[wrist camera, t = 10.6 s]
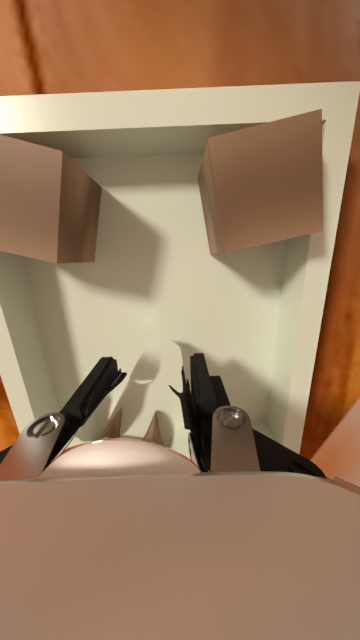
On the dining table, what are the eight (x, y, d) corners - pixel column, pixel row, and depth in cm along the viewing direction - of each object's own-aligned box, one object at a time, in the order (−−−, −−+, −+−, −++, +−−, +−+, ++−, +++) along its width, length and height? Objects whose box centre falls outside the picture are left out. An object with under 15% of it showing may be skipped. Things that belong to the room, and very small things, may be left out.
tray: (-22, 141, 11) (-91, 100, 8) (313, 126, 11) (361, 81, 8) (57, 436, 17) (32, 472, 14) (277, 427, 17) (297, 462, 14)
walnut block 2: (197, 178, 11) (208, 137, 7) (271, 160, 11) (321, 108, 7) (210, 254, 12) (224, 253, 8) (277, 239, 12) (323, 230, 8)
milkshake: (110, 388, 13) (-62, 716, 4) (133, 314, 12) (-59, 556, 2) (176, 408, 14) (165, 745, 4) (206, 339, 12) (291, 627, 3)
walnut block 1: (26, 168, 11) (-56, 119, 7) (101, 187, 11) (62, 151, 7) (25, 246, 12) (-46, 240, 8) (94, 261, 12) (56, 263, 9)
